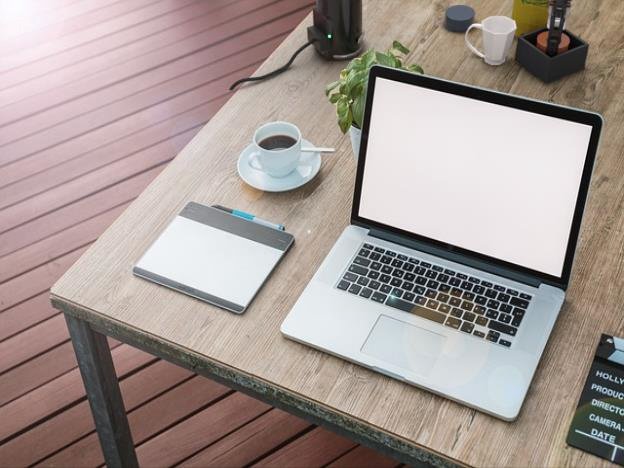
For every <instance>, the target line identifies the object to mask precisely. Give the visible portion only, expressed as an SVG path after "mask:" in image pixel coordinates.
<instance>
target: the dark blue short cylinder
mask: <svg viewBox="0 0 624 468" xmlns="http://www.w3.org/2000/svg"><path fill="white" fill-rule="evenodd" d="M444 12H445V13H444V27H445V28H446V29H448V30H450V31H452V32H456V33H462V32H467V30H468V28H469V27H470V26H471V25H472V24H475V16H476V12H475V9H474V8H473V7H471V6H469V5H465V4H454V5H451V6H449V7H447V8H446V9H445V11H444Z"/></svg>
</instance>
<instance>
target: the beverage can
mask: <svg viewBox="0 0 624 468" xmlns="http://www.w3.org/2000/svg"><path fill="white" fill-rule="evenodd" d="M549 3H550V0H513V4H512V12H511V18H510V19H512V20H514V21H515V23H516V28H517V29H516V32H515V35H514V38H515V39H516V40H517V39H518V36H521V35H524V34H526V33H529V32H531V31H534V30H537V29H539V28H542V27H545V26H547V23H548V17H549V12H548V9H549ZM550 22H551V21H550Z"/></svg>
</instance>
